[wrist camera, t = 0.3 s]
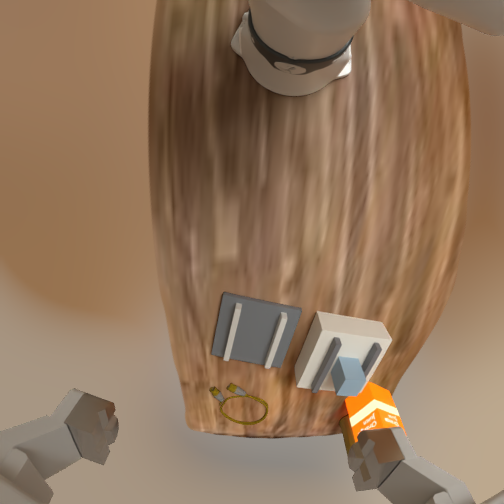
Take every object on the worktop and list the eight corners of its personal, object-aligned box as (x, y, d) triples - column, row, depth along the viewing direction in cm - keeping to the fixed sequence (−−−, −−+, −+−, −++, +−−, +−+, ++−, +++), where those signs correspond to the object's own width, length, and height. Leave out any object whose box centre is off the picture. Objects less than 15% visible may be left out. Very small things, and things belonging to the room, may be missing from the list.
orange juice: (367, 380, 57) (391, 449, 38) (389, 390, 59) (414, 454, 40) (344, 400, 60) (360, 468, 41) (367, 409, 61) (385, 472, 42)
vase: (354, 427, 64) (364, 468, 50) (334, 426, 63) (343, 469, 50) (365, 414, 62) (378, 456, 48) (345, 412, 61) (356, 457, 48)
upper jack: (316, 310, 51) (324, 337, 44) (381, 322, 52) (396, 346, 44) (294, 366, 56) (297, 394, 48) (354, 373, 56) (363, 399, 49)
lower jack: (223, 291, 50) (221, 300, 48) (301, 308, 51) (303, 317, 48) (212, 351, 55) (209, 361, 52) (280, 364, 56) (280, 374, 53)
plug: (338, 356, 47) (345, 379, 42) (358, 358, 47) (366, 380, 42) (330, 372, 49) (336, 395, 43) (349, 374, 49) (356, 396, 43)
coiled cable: (264, 379, 58) (264, 385, 56) (270, 420, 63) (270, 426, 61) (209, 381, 59) (207, 387, 57) (222, 422, 64) (221, 428, 62)
